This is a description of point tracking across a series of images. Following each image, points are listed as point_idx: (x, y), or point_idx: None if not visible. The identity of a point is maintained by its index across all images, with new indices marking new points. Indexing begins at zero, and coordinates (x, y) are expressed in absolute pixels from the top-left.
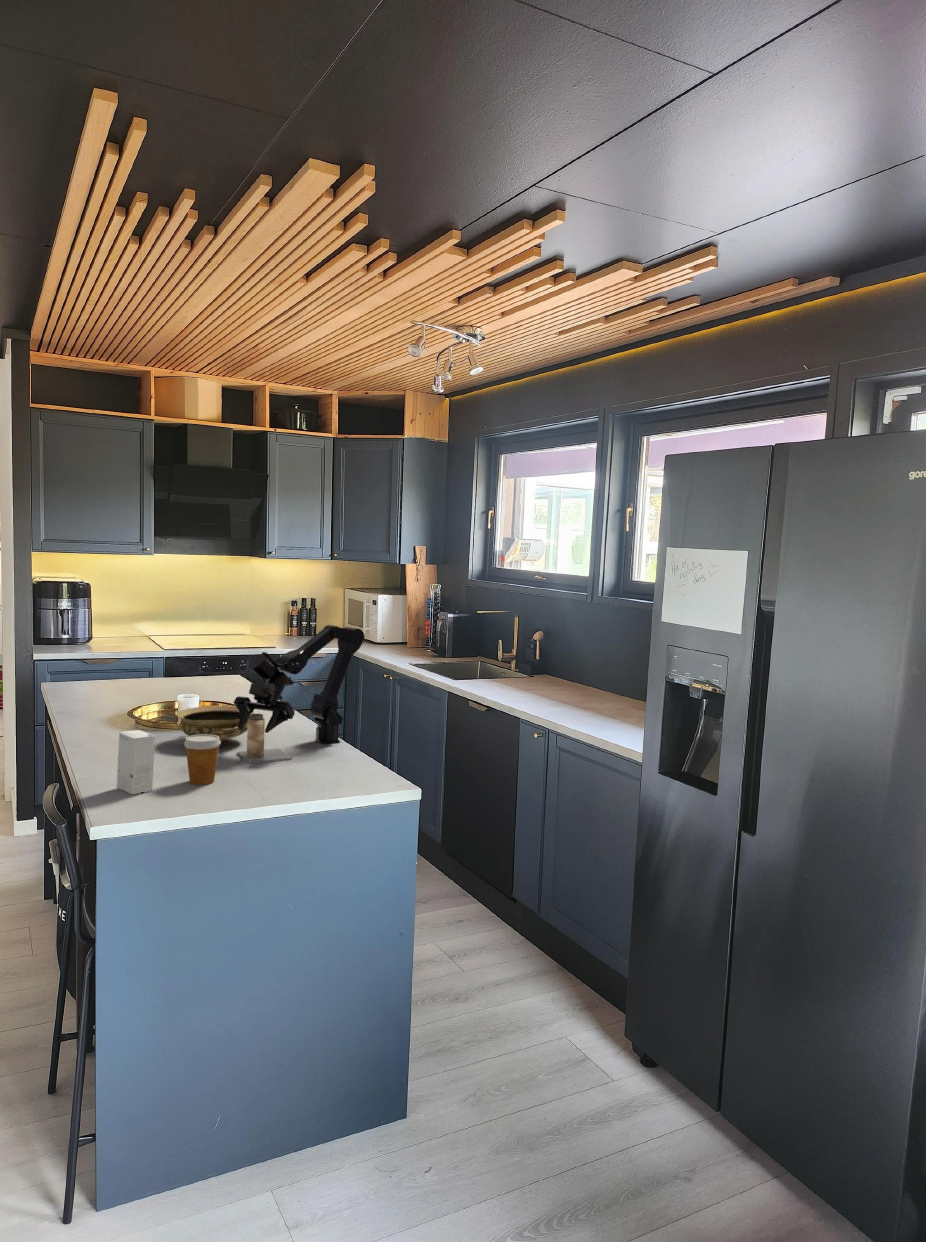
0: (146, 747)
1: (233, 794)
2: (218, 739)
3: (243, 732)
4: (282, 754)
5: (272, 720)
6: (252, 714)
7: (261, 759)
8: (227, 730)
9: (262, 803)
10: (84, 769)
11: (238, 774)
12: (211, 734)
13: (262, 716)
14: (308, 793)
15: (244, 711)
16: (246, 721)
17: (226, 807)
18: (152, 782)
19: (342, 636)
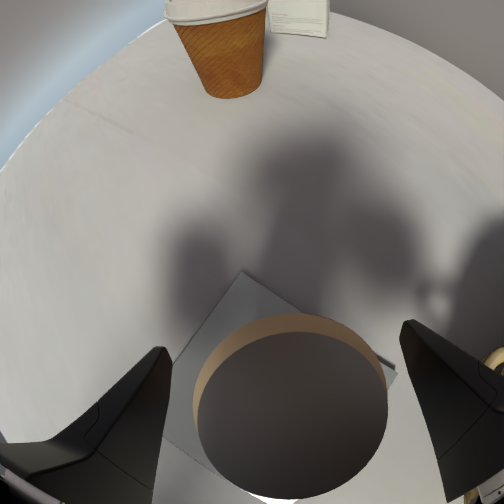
0: None
1: (127, 82)
2: (166, 5)
3: None
4: (199, 444)
5: (92, 406)
6: (358, 416)
7: (220, 332)
8: (489, 353)
9: (74, 94)
10: (466, 77)
11: (189, 157)
12: None
13: (203, 437)
14: (22, 166)
15: (493, 417)
16: (431, 425)
17: (115, 59)
18: (269, 20)
19: None
